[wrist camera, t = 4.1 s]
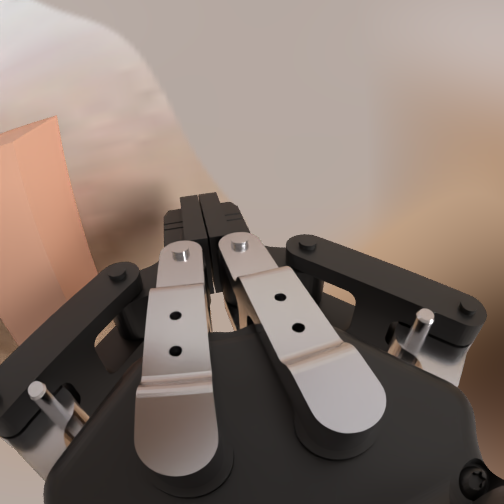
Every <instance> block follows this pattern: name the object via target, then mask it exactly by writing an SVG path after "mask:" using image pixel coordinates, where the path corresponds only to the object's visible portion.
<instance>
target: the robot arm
mask: <svg viewBox="0 0 504 504" xmlns="http://www.w3.org/2000/svg"><path fill="white" fill-rule="evenodd" d="M180 203H181V209H177V210H170V211H168V212H167V214H166V215H165V216H164V248H163V249H162V250H161V252H160V257H159V261H158V262H157V263H156V264H154V265H152V266H150V267H148V268H145V269H143V270H140V271H139V268H138V267H137V265H135V264H133V263H130V262H119V263H115V264H112V265H110V266H108V267H106V268H105V269H104V270H103V271H101V272H100V273H99V274H98V275H97V276H95V277H94V278H93V279H92V280H91V281H90V282H88V283H87V284H86V285H85V286H84V287H83V288H82V289H80V290H79V291H78V292H77V293H76V294H75V295H74V296H72V297H71V298H70V299H69V300H68V301H67V302H66V303H65V304H64V305H62V306H61V307H60V308H59V309H58V310H57V311H56V312H55V313H54V314H53V315H51V316H50V317H49V318H48V319H47V320H46V321H45V322H44V323H43V324H42V325H41V326H40V327H39V328H38V329H36V330H35V331H34V332H33V333H32V334H31V335H30V336H29V337H28V338H27V339H26V340H25V341H24V342H23V343H22V344H21V345H20V346H19V347H18V348H17V349H16V350H15V351H14V352H13V353H12V354H11V355H10V356H9V357H8V358H7V359H6V360H5V361H4V362H3V363H2V364H1V365H0V438H1V439H3V440H4V441H5V442H6V443H7V444H9V445H10V446H11V447H13V448H14V449H15V450H16V451H17V452H18V453H19V454H20V455H21V456H22V457H23V459H24V460H25V461H26V462H27V463H28V464H29V465H30V466H31V467H32V468H33V469H34V470H35V471H36V472H37V473H38V474H39V475H40V476H41V477H42V478H43V479H44V480H45V485H44V504H504V480H503V479H501V478H499V477H498V476H496V475H495V474H493V473H492V472H491V471H490V470H489V469H488V468H487V466H486V465H485V464H484V462H483V459H482V456H481V453H480V450H479V446H478V442H477V435H476V425H475V416H474V412H473V409H472V407H471V404H470V402H469V401H468V399H467V397H466V396H465V395H464V393H463V392H462V391H461V390H460V389H459V388H458V384H459V381H460V377H461V373H462V370H463V366H464V362H465V358H466V353H467V351H468V349H469V348H470V346H471V345H472V343H473V341H474V339H475V338H476V336H477V334H478V333H479V331H480V329H481V328H482V326H483V324H484V322H485V320H486V317H487V314H486V310H485V308H484V307H483V305H482V304H481V303H480V302H479V301H478V300H477V299H476V298H474V297H472V296H470V295H468V294H465V293H463V292H460V291H458V290H456V289H453V288H451V287H448V286H446V285H443V284H441V283H438V282H436V281H433V280H431V279H428V278H426V277H423V276H421V275H418V274H416V273H413V272H411V271H408V270H405V269H403V268H400V267H398V266H395V265H393V264H390V263H387V262H385V261H382V260H379V259H377V258H374V257H371V256H369V255H366V254H363V253H361V252H358V251H356V250H353V249H350V248H347V247H345V246H342V245H339V244H337V243H333V242H331V241H328V240H326V239H323V238H320V237H317V236H314V235H305V234H304V235H297V236H294V237H292V238H290V239H289V240H288V241H287V243H286V248H279V247H268V246H264V245H263V243H262V242H261V240H260V239H259V237H257V236H256V235H254V234H251V233H250V231H249V229H248V227H247V225H246V223H245V221H244V219H243V217H242V214H241V212H240V210H239V208H238V206H236V205H234V204H233V203H231V202H225V203H220V201H219V199H218V196H217V193H216V192H214V193H206V194H199V200H198V196H197V195H193V196H186V197H180ZM212 278H213V280H212ZM324 281H325V282H327V283H330V284H332V285H335V286H337V287H339V288H342V289H344V290H346V291H349V292H350V293H351V294H352V295H353V296H354V297H355V300H356V305H355V306H354V305H351V304H349V303H347V302H344V301H342V300H340V299H338V298H335V297H333V296H331V295H328V294H326V293H324V292H323V285H324ZM213 282H214V286H215V290H216V293H219V292H223V295H224V303H225V309H226V312H227V314H228V317H229V319H230V322H231V324H232V327H233V330H234V332H213V328H212V320H211V310H210V303H211V297H210V294H213V293H214V288H213ZM112 320H114V322H115V325H116V326H115V327H114V328H113V329H112V330H111V331H110V332H109V333H108V334H107V335H106V336H105V337H104V339H103V340H102V341H101V342H100V343H99V344H98V345H97V346H96V347H94V343H95V339H96V337H97V336H98V334H99V333H100V332H101V331H102V330H103V329H104V328H105V327H106V326H107V325H108V324H109V323H110V322H111V321H112Z"/></svg>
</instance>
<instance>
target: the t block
mask: <svg viewBox="0 0 504 504" xmlns="http://www.w3.org/2000/svg"><path fill="white" fill-rule="evenodd" d="M97 275H98V273H97V270H96V267H95V264H94V261H93V258H92V255H91V252H90V249H89V246H88V243H87V240H86V237H85V234H84V230H83V227H82V224H81V220H80V217H79V213H78V210H77V206H76V202H75V198H74V195H73V191H72V187H71V183H70V179H69V174H68V170H67V166H66V161H65V157H64V152H63V147H62V142H61V137H60V131H59V125H58V120H57V116H54V117H50V118H47V119H43V120H40V121H37V122H34V123H31V124H27V125H24V126H21V127H18V128H16V129H13V130H10V131H7V132H4V133H2V134H0V318H1V320H2V321H3V323H4V324H5V326H6V328H7V329H8V331H9V332H10V334H11V335H12V337H13V338H14V340H15V341H16V343H17V344H18V346H20V345H21V344H22V343H23V342H24V341H25V340H26V339H27V338H28V337H29V336H30V335H31V334H32V333H33V332H34V331H35V330H36V329H38V328H39V327H40V326H41V325H42V324H43V323H44V322H45V321H46V320H47V319H48V318H49V317H50V316H51V315H53V314H54V313H55V312H56V311H57V310H58V309H59V308H60V307H61V306H62V305H64V304H65V303H66V302H67V301H68V300H69V299H70V298H71V297H72V296H74V295H75V294H76V293H77V292H78V291H79V290H80V289H82V288H83V287H84V286H85V285H86V284H87V283H88V282H90V281H91V280H92V279H93V278H94V277H95V276H97Z"/></svg>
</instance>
